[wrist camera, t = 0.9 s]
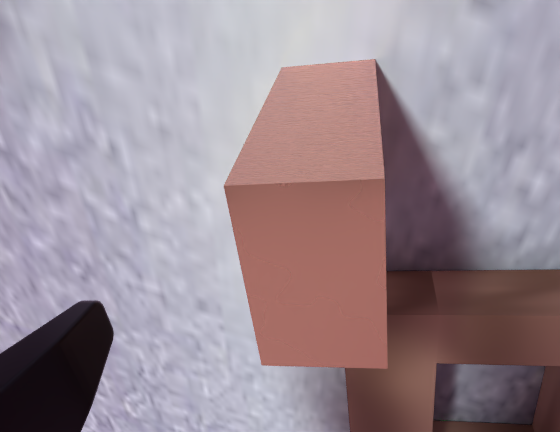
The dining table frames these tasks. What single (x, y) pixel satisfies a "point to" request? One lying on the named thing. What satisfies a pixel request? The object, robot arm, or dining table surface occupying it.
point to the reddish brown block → (315, 219)
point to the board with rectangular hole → (459, 345)
